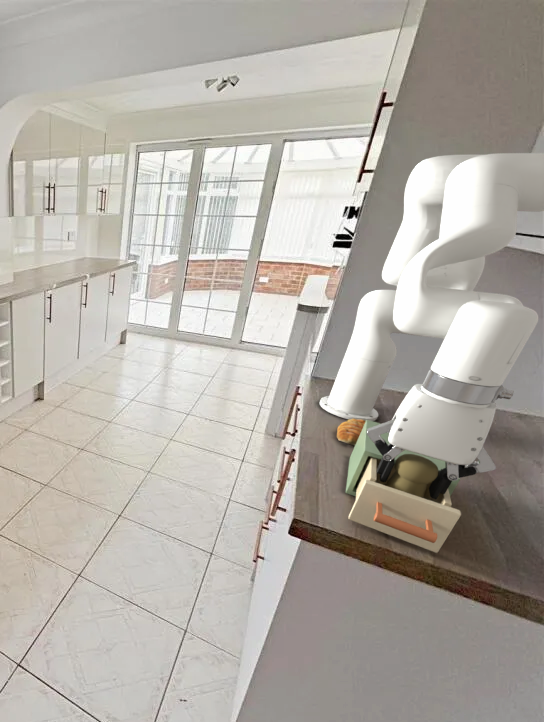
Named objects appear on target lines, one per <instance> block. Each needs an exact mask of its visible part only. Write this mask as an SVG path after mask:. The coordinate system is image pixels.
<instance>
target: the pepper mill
mask: <svg viewBox="0 0 544 722" xmlns="http://www.w3.org/2000/svg"><path fill="white" fill-rule="evenodd" d="M394 468H395V470H396V471H395V472H394V474H393V475H392V476H391V478H390V479H389V480H388V482H387V483H386V484H385V486H388V487H391V488H394V489H397V490H400V491H403V492H406V493H409V494H412V495H415V496H418V497H421V498H423V497H424V494H425V491H426V488H427V484H428V483H431V482H432V481H434V480H435V479H436V478H437V476H438V471H439V470H438V467H437V465H436V464H435V463H433V462H432V461H431V460H429V459H427V458H424V457H422V456H419V455H414V454H404V455H402V456H400V457H398V458H397V459H396V461H395V465H394Z"/></svg>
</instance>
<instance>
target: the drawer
mask: <svg viewBox="0 0 544 722" xmlns="http://www.w3.org/2000/svg"><path fill="white" fill-rule="evenodd" d="M380 462H381V459H377V458H374V457H371V456H368V458H367V460H366V463H365V465H364V467H363V469H362V471H361V474H360V476H359V478H358V480H357V490H356V496H355V501H354V503H353V505H352V507H351V510H350V512H349V514H348V520H350V521H352V522H355V523H357V524H359V525H363V526H365V527H367V528H370V529H373V530H375V531H378V532H381V533H384V534H386V535H388V536H391V537H394V538H397V539H399V540H401V541H405V542H407V543H410V544H412V545H415V546H417V547H420V548H423V549H426V550H428V551H430V552H433V553H435V554H438V553H439V551H440V550H441V548H442V546H443V545H444V543H445V541H446V540H447V538H448V537H449V535H450V534H451V532H452V531H453V529H454V527H455V525H456V524H457V522H458V521H459V519H460V517H461V516H462V512H461V510H460V509H457V508H454V507H452V505H453V504H452V500H451V496H450V495H449V490H448V489H447V491H446V493H445V494H441V493H440V494H439V496H438V498H437V499H433V498H431V497H430V493H429V487H430V485H431V483H432V482H431V483H428V484H427V488H426V491H425V494H424V497H423V498H421V497H418V496H415V495H412V494H409V493H406V492H403V491H400V490H397V489H394V488H391V487H388V486H385V484H386V483H387V482H388V480H389V479H390V478H391V476H392V475H393V474H394V472H395V471H396V470H395V468H394V467H393V469H392V471H391V473H390V475H389V477H388V479H387V481H386V482H381V481H380V474H379V473H377V468H378V466H379V464H380ZM394 465H395V464H394Z"/></svg>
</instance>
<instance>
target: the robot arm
mask: <svg viewBox="0 0 544 722" xmlns="http://www.w3.org/2000/svg"><path fill="white" fill-rule="evenodd" d="M518 212H531V213H533V212H534V213H540V212H544V152H504V153H503V152H501V153H500V152H499V153H488V154H480V153H479V154H477V153H476V154H475V153H474V154H446V155H437V156H432V157H429V158H425V159H423V160H421V161H420V162H419V163H417V164H416V165H415V166H414V168H413V169H412V170H411V172H410V174H409V175H408V179H407V181H406V183H405V188H404V196H403V217H402V221H401V223H400V226H399V228H398V231H397V233H396V236H395V237H394V240H393V243H392V245H391V247H390V250H389V251H388V255H387V257H386V259H385V261H384V264H383V267H382V271H381V278H382V281H383V282H384V283H386V284H387V285H391V286H394V287H396V290H395V289H377V290H376V289H375V290H373V291H369V292H368V293H366V294H364V296H363V297H362V298H361V299H360V300H359V301H360V302H359V304H358V307H357V310H356V311H357V312H356V316H355V323H354V326H353V330H352V334H351V336H350V337H351V338H350V340H349V343H348V346H347V348H346V351H345V353H344V356H343V358H342V361H341V363H340V367H339V369H338V371H337V375H336V377H335V380H334V383H333V385H332V388H331V391H330V393H329V395H327V396H323V397H321V398H320V400H319V406H320V408H322V409H323V410H324V411H326V412H327V413H330V414H331V415H334V416H336V417H339V418H342V419H346V420H351V419H362V420H365V421H366V420H369V421H373V422H376V420H377V419H378V417H379V412H378V410H376V409H375V408H374V407H375V405H376V402H377V400H378V397H379V395H380V394H381V391H382V388H383V386H384V384H385V382H386V379H387V377H388V375H389V373H390V370H391V368H392V366H393V364H394V362H395V359H396V357H397V354H398V353H397V352H398V350H397V346H396V345H397V344H396V343H395V341H394V340H393V339H392V337H391V334H401V335H402V334H403V335H407V336H408V335H409V336H416V337H425V338H433V339H443V340H442V343H441V345H440V347H439V349H438V351H437V354H436V355H435V358H434V359H433V361H432V364H431V366H430V369H429V370H428V372H427V374H426V376H425V379H424V381H423V383H416V384H414V385H413V386H412V387H411V389H410V390H409V391H408V393H407V394H406V395H405V396H404V399H403V400H402V401H401V403H400V405H399V406H398V407H397V410H396V411H395V413H394V415H393V417H392V419H391V420H388V421H385V422H383V423H381V424H379V425H377V426H374V427H371V428H368V429H367V435H368V436H369V438H370V439H371V440H372V442H373V443H374V444H375V446H376V447H377V449H378V450H379V452H380V453H381V454H382V456H383V457H382V459H381V462H380V464H379V466H378V468H377V473H379V474H380V481H381V482H386V481H387V479H388V477H389V475H390V473H391V471H392V469H393V467H394V464H395V461H394V459H395V457H396V456H398V455H399V454H400V453H401V452H403V451H404V450H408V451H411V452H414V453H418V454H421V455H425V456H428V457H432V458H435V459H439V460H442V461H445V468H443V469H441V470H439V471H438V476H437V478H436V479H435V480H434V481H432V483H431V485H430V487H429V493H430V497H431V498H433V499H437V498H438V496H439V494H440V493H441V494H445V493H446V491H447V489H448V488H449V486H450V484H451V482H452V481H456V480H458V478H460V479H462V478H465V477H471V476H474V475H476V474H482V473H486V472H487V473H488V472H493V471H495V470H497V466H496V464H495V462H494V460H493V459H492V457H491V456H490V455H489V452H488V451H487V450H486V449H485V447H484V444H485V442H486V440H487V437H488V435H489V432H490V429H491V427H492V425H493V421H494V418H495V415H496V411H497V403H496V401H497V400H498V399H504V400H511V399H512V397H513V396H514V394H515V393H514V392H515V391H514V390H513V389H509V388H507V387H504V386H503V384H504V382H505V381H506V379H507V377H508V376H509V374H510V372H511V370H512V368H513V367H514V365H515V363H516V361H517V360H518V358H519V356H520V354H521V353H522V351H523V349H524V347H525V345H526V344H527V342H528V341H529V339H530V337H531V335H532V334H533V332H534V330H535V328H536V326H537V324H538V322H539V314H538V313H537V311H536V310H534V308H533V309H532V308H530V307H528V306H525V305H524V304H523V302H522V301H521V300H520V299H518V297H515V296H512V295H509V294H504V293H496V292H487V291H477V290H476V291H475V290H474V289H475V288H476V286H477V284H478V282H479V280H480V278H481V276H482V274H483V271H484V269H485V265H486V257H487V256H489V255H492V254H494V253H497V252H499V251H501V250H503V249H504V248H505V247H507V246H508V245H510V243H511V242H513V240H514V238H515V237H516V234H517V225H518ZM384 433H389V437H388V441H389V443H390V444H387V443H386V442H385V440H384V439H383V438H382V437H381V436H380V435H381V434H384ZM476 459H477V461H476Z"/></svg>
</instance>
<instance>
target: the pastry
mask: <svg viewBox="0 0 544 722" xmlns="http://www.w3.org/2000/svg"><path fill="white" fill-rule="evenodd" d="M365 422H366V421H365V420H362V419H351V420H349V419H347V420H346V421H343V422H341V423H340V424H339V425H338V426H337V428H336V439H337V440H338V441H340V442H343V443H345V444H347V445H348V444H349V445H351V446H354V447H355V445H356V443H357V440H358V438H359V436H360V433H361V431H362V429H363V427H364V424H365Z"/></svg>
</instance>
